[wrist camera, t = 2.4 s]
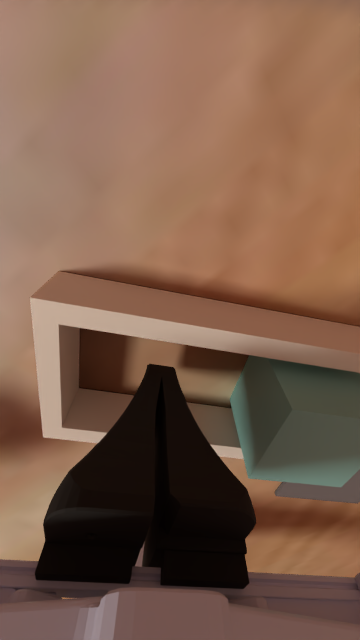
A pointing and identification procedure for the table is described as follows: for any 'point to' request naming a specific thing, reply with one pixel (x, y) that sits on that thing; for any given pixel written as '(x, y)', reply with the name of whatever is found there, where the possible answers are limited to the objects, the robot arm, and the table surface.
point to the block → (298, 421)
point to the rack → (170, 326)
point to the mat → (323, 491)
